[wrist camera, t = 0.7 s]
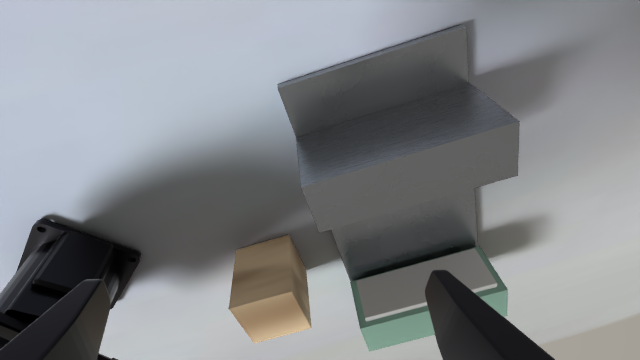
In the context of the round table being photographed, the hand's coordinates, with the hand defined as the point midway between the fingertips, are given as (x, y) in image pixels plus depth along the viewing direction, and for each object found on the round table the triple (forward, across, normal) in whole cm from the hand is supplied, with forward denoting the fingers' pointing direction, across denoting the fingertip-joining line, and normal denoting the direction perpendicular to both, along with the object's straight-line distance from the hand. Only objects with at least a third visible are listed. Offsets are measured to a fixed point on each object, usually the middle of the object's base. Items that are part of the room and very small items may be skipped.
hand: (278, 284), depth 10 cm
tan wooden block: (+13, 0, +12) cm, 17 cm away
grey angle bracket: (+12, -9, +7) cm, 17 cm away
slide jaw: (+11, -11, +13) cm, 20 cm away
